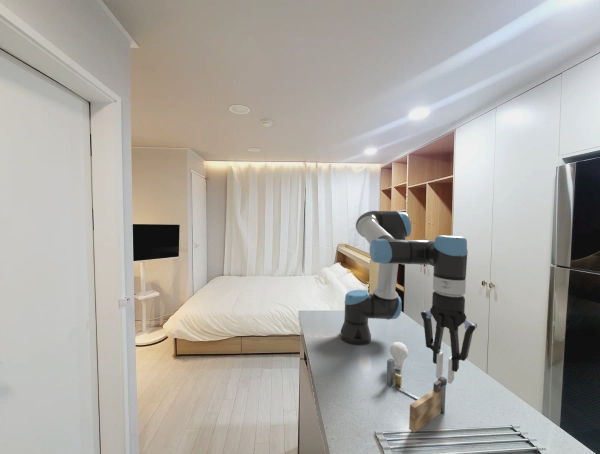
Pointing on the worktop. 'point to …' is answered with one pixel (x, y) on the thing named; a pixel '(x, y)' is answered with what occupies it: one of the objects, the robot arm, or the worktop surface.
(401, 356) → the light bulb
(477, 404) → the worktop surface
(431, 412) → the gate
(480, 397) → the worktop surface
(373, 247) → the robot arm
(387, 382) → the gate frame
